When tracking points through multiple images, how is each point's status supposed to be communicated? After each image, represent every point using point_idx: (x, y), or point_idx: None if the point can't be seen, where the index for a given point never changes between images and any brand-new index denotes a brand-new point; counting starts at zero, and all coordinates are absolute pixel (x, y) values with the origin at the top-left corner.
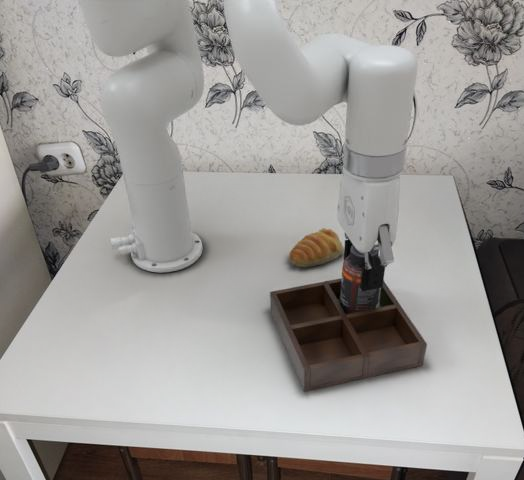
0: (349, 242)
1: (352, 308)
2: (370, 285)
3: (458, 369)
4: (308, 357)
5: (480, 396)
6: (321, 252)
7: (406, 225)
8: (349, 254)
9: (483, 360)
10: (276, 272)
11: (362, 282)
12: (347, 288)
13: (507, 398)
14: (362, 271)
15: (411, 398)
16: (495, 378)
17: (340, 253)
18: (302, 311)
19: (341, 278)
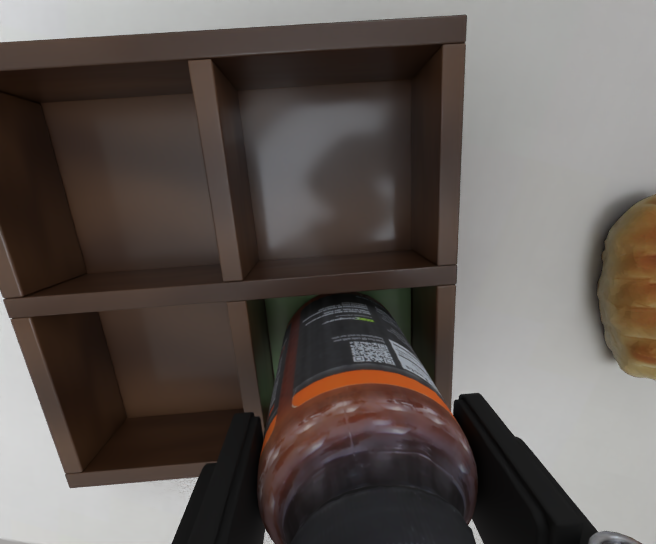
0: (543, 537)
1: (293, 329)
2: (202, 475)
3: (106, 485)
4: (161, 136)
5: (20, 497)
6: (643, 308)
7: (652, 537)
8: (482, 454)
9: (131, 535)
10: (625, 137)
11: (221, 451)
12: (313, 351)
13: (15, 538)
14: (209, 518)
15: (9, 367)
16: (75, 537)
17: (617, 361)
18: (387, 173)
19: (385, 346)
